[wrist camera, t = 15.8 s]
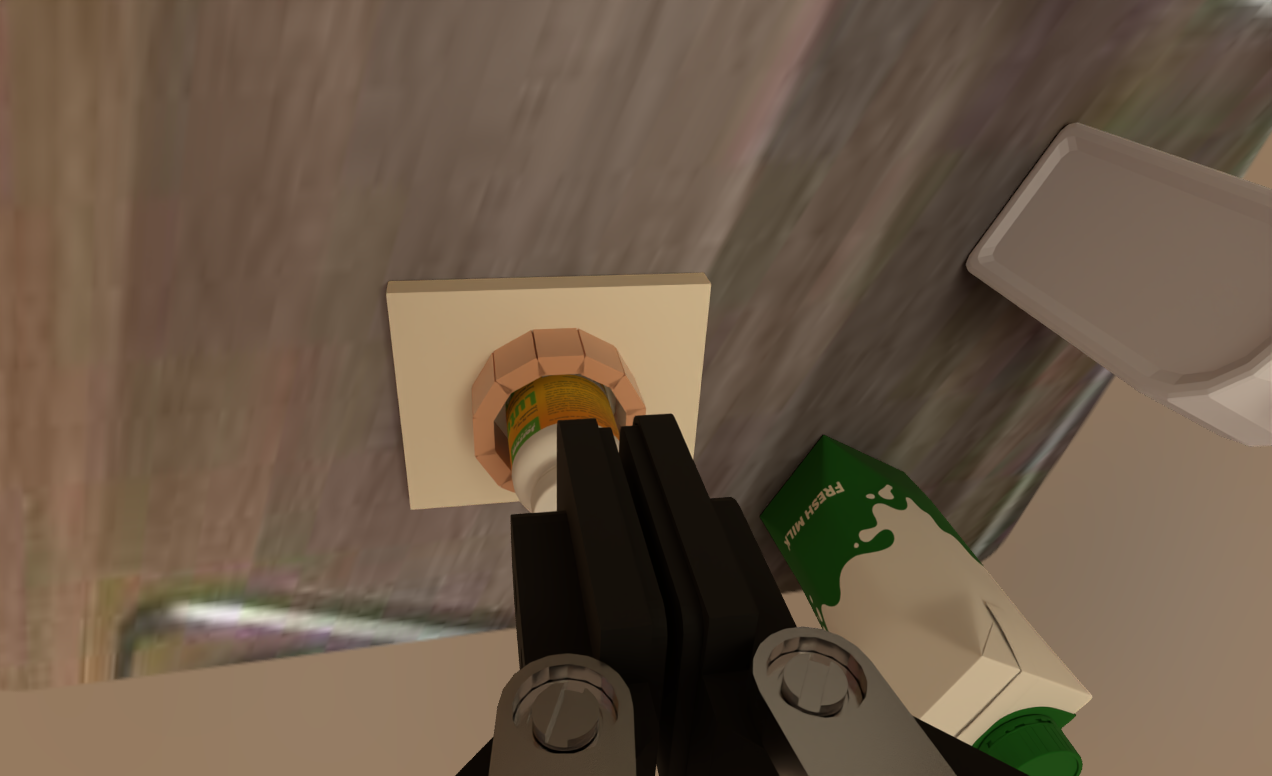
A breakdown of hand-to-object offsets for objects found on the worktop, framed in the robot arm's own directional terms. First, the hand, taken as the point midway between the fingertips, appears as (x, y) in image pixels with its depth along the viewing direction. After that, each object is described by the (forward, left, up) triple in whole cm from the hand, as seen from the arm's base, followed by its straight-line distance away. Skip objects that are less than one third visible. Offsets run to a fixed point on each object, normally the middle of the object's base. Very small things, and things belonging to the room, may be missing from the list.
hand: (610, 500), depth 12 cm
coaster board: (+15, +2, -29) cm, 33 cm away
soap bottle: (+6, +30, -29) cm, 42 cm away
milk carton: (+24, +20, -29) cm, 43 cm away
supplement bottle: (+15, +2, -28) cm, 32 cm away
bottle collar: (+15, +2, -28) cm, 31 cm away
